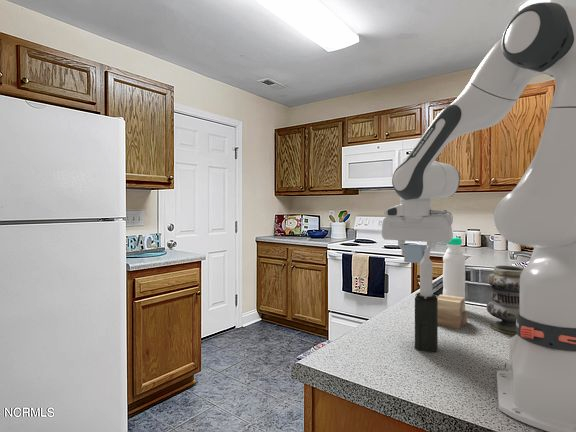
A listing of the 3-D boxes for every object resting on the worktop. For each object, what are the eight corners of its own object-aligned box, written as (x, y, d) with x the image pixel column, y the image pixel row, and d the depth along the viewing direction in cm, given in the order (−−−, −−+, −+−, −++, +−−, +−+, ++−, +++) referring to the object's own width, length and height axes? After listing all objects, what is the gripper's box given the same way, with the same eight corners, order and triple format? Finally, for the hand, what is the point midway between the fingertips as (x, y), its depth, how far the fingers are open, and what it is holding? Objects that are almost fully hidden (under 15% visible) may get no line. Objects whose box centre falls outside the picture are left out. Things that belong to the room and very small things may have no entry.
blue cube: (421, 263, 101) (421, 246, 101) (404, 261, 104) (404, 245, 104) (426, 261, 105) (426, 244, 104) (410, 260, 108) (410, 243, 108)
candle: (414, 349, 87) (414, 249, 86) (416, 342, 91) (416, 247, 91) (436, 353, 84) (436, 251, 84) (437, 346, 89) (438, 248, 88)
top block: (459, 316, 101) (459, 302, 101) (434, 312, 106) (434, 299, 106) (464, 310, 107) (464, 297, 107) (440, 306, 111) (440, 294, 111)
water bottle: (438, 308, 122) (438, 237, 121) (452, 306, 125) (452, 236, 124) (455, 314, 115) (455, 238, 115) (470, 311, 118) (470, 238, 118)
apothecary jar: (503, 337, 94) (503, 271, 94) (477, 322, 106) (478, 264, 106) (546, 336, 95) (547, 270, 94) (516, 322, 107) (516, 263, 106)
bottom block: (459, 330, 101) (459, 316, 101) (431, 324, 106) (431, 311, 106) (466, 323, 107) (466, 310, 107) (439, 318, 112) (439, 305, 112)
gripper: (455, 209, 100) (455, 257, 100) (387, 210, 113) (388, 252, 113) (449, 210, 95) (449, 260, 95) (379, 210, 108) (379, 254, 108)
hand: (415, 256), depth 104 cm, fingers closed on blue cube, 5 cm apart
